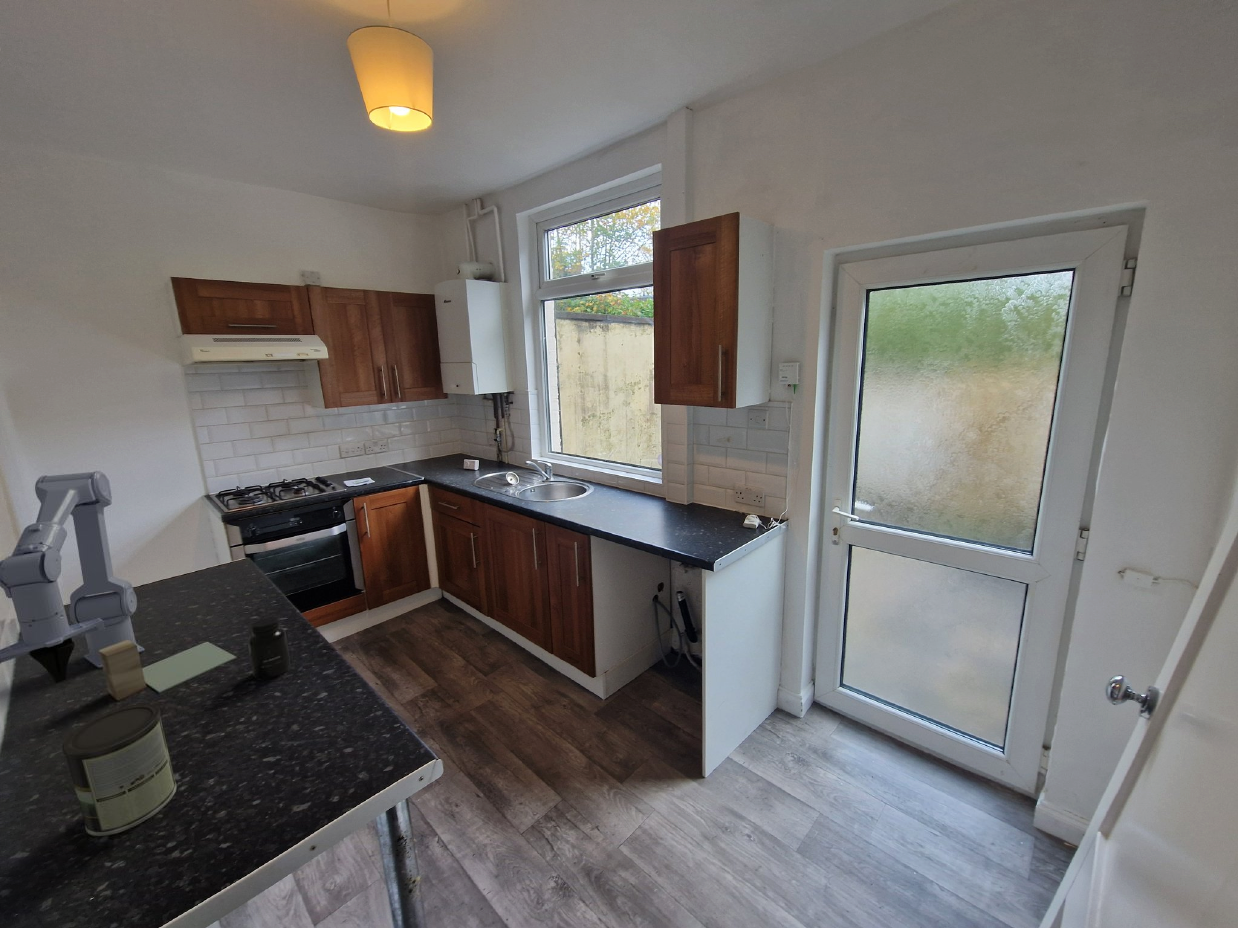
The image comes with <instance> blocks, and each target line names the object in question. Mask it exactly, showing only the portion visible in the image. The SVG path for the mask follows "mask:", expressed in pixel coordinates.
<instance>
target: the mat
mask: <svg viewBox="0 0 1238 928" xmlns="http://www.w3.org/2000/svg"><path fill="white" fill-rule="evenodd" d="M236 659H237V656H236V655H234V654H232V653H230V652H228V651H226V650H224V649H223V648H221V647H218V646H217V645H214V644H213V643H211V642H209V641H206V642H202V643H201V644H198V645H196V646H193V647H191V648H188V649H186V650H183V651H181V652H179V653H178V652H177V653H175V654H174V655H171V656H169V657H167V658H164V659H162V660H159V661H157V662H154V663H152V664H150V665H149V664H148V665H147V666H145V667H142V670H143V674H144V679H145V683H146V686H147V685H148V686H149V687H150V688H152V689H154V690H155V691H156V692H157V693H159V694H162V693H163V692H166V691H167V690H169V689H171V688H174V687H176V686H178V685H180V684H184V683H185V682H187V681H189V680H191V679H193V678H196V677H198V676H200V675H202V674H205V673H207V672H209V671H211V670H213V669H215V668H218V667H220V666H223V665H225V664H226V663H228V662H229V663H230V662H231V661H234V660H236Z"/></svg>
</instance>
